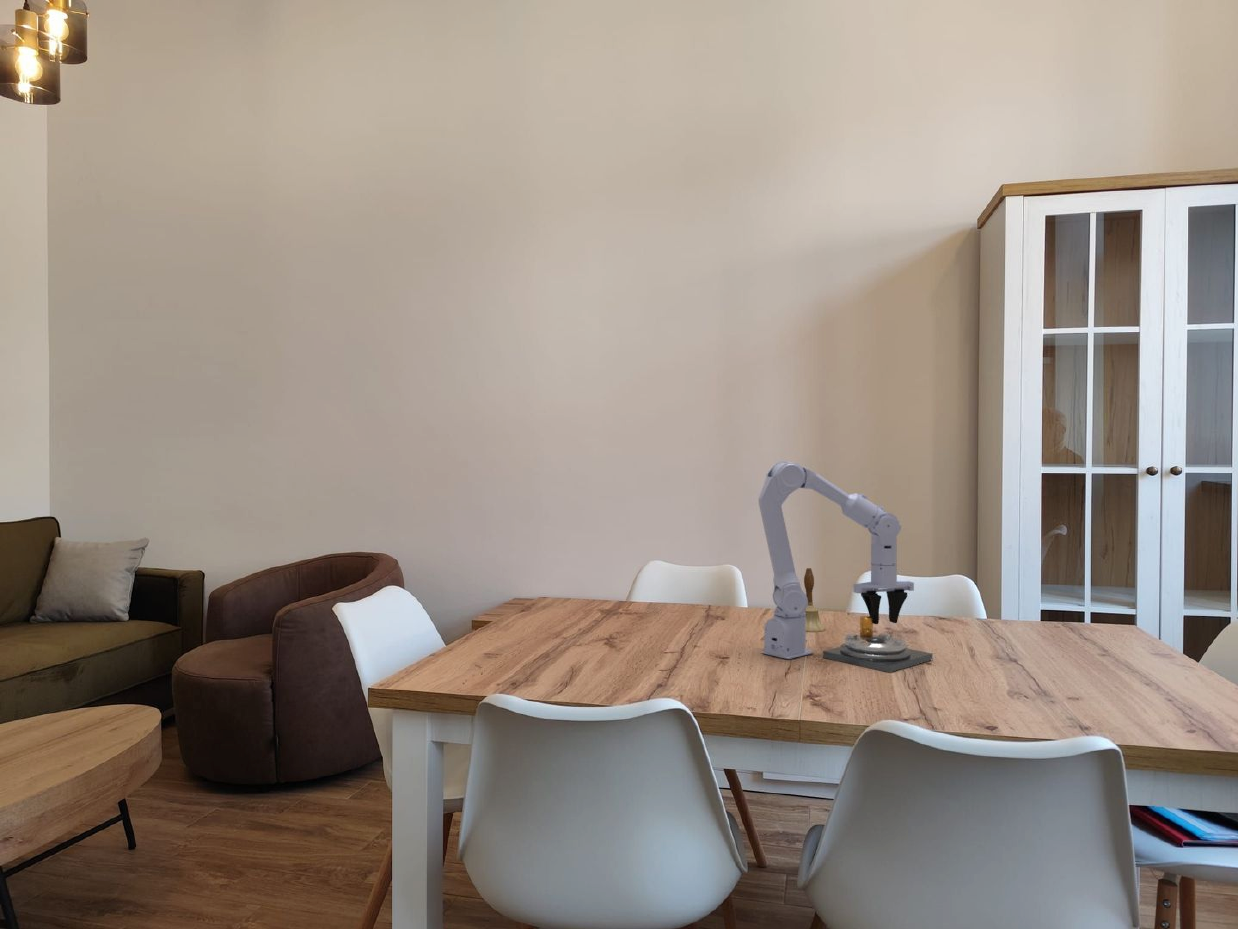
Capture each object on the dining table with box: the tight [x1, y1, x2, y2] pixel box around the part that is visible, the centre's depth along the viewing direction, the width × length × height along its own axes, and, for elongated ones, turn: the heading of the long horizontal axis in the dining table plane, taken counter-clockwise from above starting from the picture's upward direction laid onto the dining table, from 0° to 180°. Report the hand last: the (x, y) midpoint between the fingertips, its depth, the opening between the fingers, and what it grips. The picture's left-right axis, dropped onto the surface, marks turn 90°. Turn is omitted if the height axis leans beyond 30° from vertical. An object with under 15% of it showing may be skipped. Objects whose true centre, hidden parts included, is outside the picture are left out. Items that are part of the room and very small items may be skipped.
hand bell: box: [803, 567, 826, 633], centre depth 223 cm, size 8×8×16 cm
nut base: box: [822, 642, 933, 674], centre depth 190 cm, size 17×17×3 cm
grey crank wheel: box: [844, 615, 907, 654], centre depth 189 cm, size 13×13×6 cm
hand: (883, 622), depth 195 cm, fingers open, 4 cm apart
